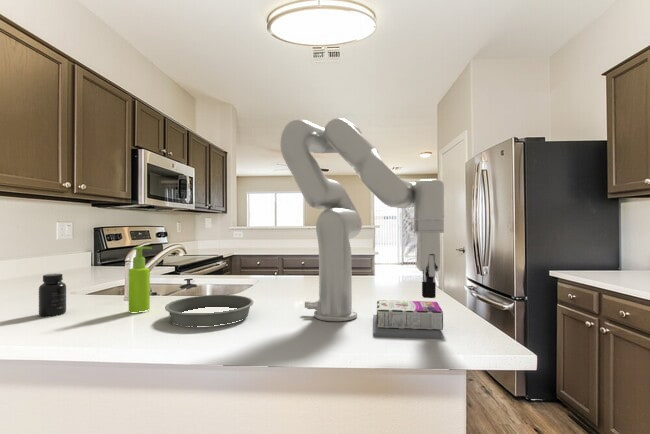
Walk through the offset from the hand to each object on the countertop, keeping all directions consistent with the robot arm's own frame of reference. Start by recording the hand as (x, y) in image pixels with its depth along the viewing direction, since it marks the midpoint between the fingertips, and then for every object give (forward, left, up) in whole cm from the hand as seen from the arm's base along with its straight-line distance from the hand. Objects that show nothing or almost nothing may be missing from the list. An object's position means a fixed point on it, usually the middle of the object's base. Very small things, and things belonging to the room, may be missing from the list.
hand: (428, 297), depth 100 cm
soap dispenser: (-86, +9, -8) cm, 87 cm away
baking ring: (-61, +4, -9) cm, 62 cm away
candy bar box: (+3, 0, -5) cm, 6 cm away
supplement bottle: (-110, +2, -8) cm, 111 cm away
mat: (-6, 0, -8) cm, 10 cm away
